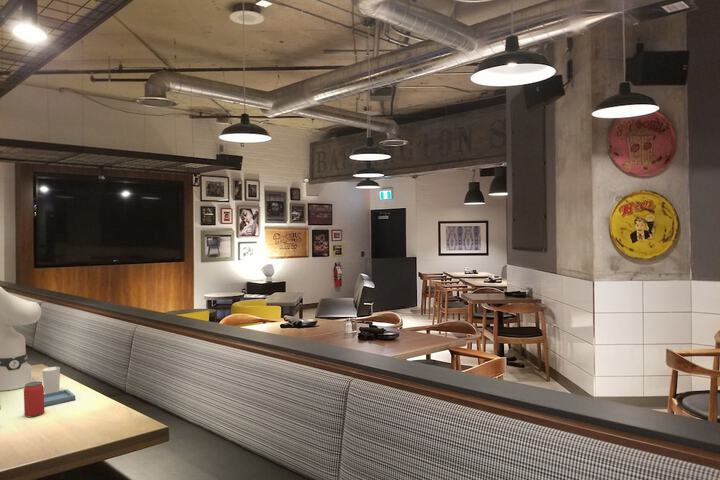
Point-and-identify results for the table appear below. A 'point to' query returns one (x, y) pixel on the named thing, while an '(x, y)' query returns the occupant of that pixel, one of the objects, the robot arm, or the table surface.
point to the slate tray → (58, 397)
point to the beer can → (33, 399)
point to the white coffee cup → (51, 379)
